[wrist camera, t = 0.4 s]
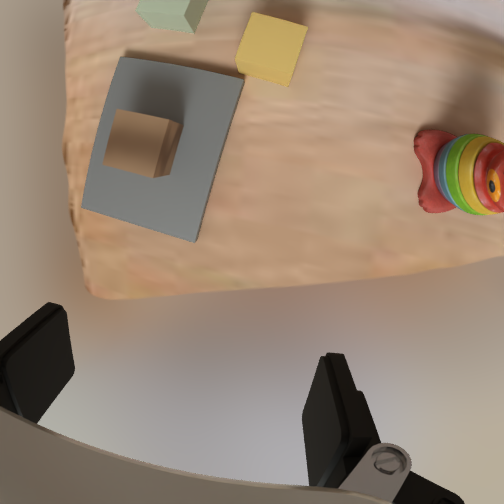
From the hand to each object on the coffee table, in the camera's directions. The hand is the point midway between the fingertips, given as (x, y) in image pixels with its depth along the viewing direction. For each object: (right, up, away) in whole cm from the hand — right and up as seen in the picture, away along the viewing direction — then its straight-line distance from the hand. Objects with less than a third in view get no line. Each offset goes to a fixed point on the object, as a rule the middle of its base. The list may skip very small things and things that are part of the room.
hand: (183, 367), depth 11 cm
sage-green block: (-7, +34, +21) cm, 41 cm away
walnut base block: (-9, +17, +25) cm, 31 cm away
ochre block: (+5, +27, +23) cm, 36 cm away
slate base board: (-9, +17, +26) cm, 33 cm away
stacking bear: (+28, +15, +26) cm, 41 cm away
